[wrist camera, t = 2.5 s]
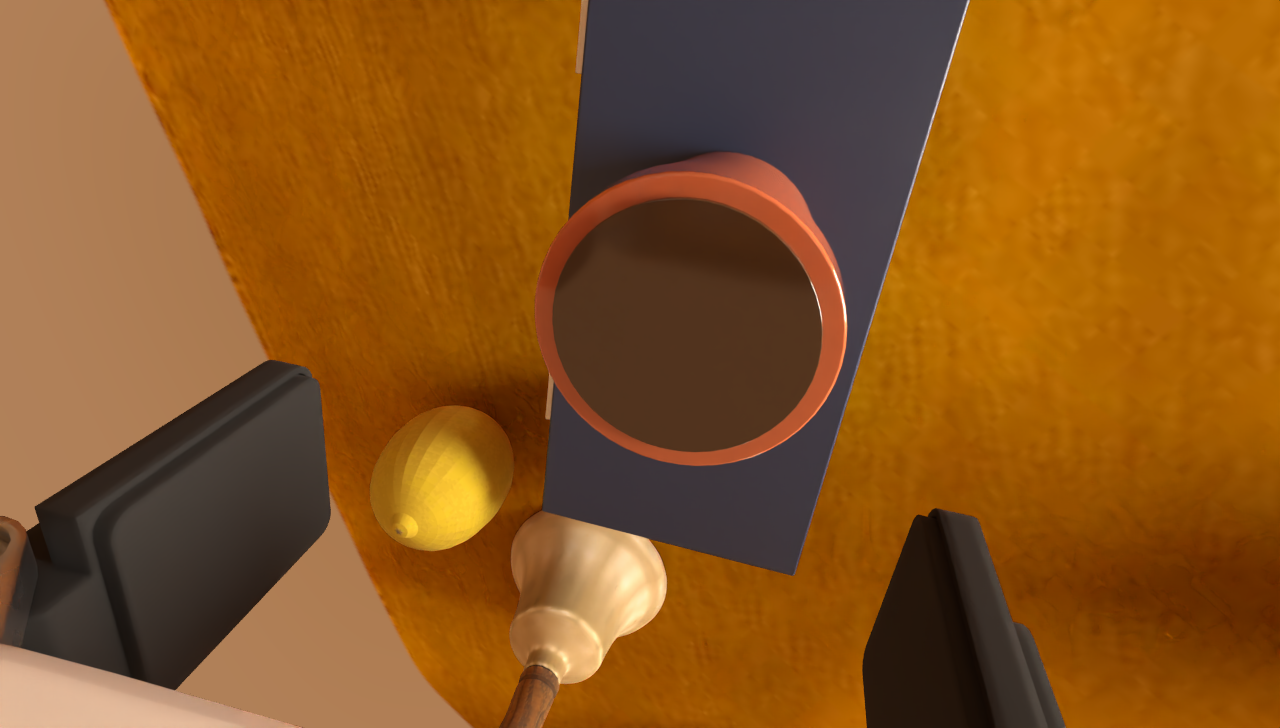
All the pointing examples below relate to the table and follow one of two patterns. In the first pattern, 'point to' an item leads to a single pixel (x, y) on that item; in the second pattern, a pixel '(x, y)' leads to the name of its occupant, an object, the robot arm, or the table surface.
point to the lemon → (442, 478)
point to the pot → (693, 311)
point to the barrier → (809, 157)
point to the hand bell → (574, 604)
